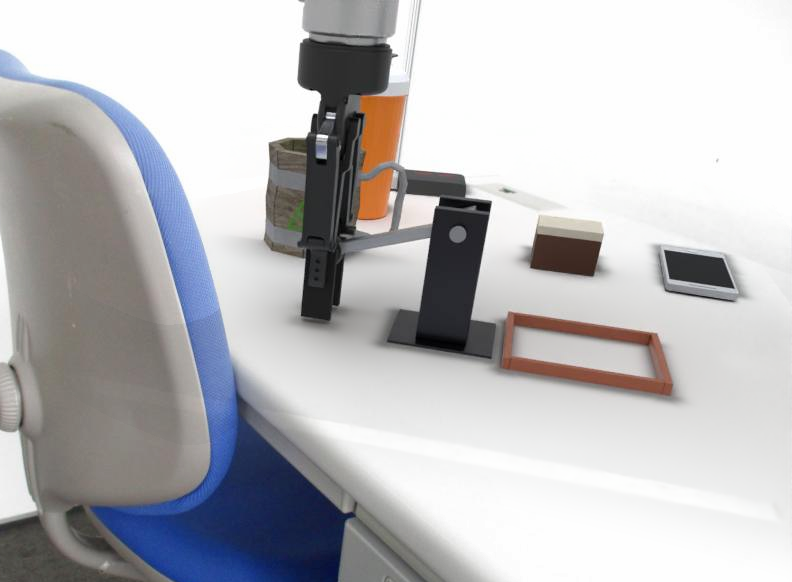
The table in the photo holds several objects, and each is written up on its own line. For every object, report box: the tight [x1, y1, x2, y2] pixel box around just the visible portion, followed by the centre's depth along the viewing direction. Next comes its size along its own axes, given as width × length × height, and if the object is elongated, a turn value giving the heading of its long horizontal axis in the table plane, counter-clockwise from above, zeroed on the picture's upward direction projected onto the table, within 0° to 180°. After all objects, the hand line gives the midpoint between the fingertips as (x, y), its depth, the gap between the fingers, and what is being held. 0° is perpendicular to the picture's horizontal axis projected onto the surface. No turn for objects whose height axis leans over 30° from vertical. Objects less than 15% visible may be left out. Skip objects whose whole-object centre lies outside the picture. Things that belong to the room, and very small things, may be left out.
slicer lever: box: [336, 206, 477, 264], centre depth 76 cm, size 15×3×3 cm, turn 72°
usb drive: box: [391, 168, 467, 198], centre depth 130 cm, size 5×12×3 cm, turn 80°
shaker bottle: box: [357, 52, 411, 220], centre depth 113 cm, size 9×9×20 cm
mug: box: [263, 137, 408, 259], centre depth 98 cm, size 16×11×12 cm
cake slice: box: [529, 214, 605, 277], centre depth 100 cm, size 7×5×5 cm
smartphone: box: [658, 245, 739, 301], centre depth 100 cm, size 7×16×1 cm, turn 160°
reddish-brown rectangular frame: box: [500, 311, 674, 396], centre depth 76 cm, size 13×11×2 cm
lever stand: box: [386, 195, 497, 360], centre depth 76 cm, size 9×8×13 cm
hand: (320, 309), depth 81 cm, fingers closed on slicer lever, 3 cm apart
